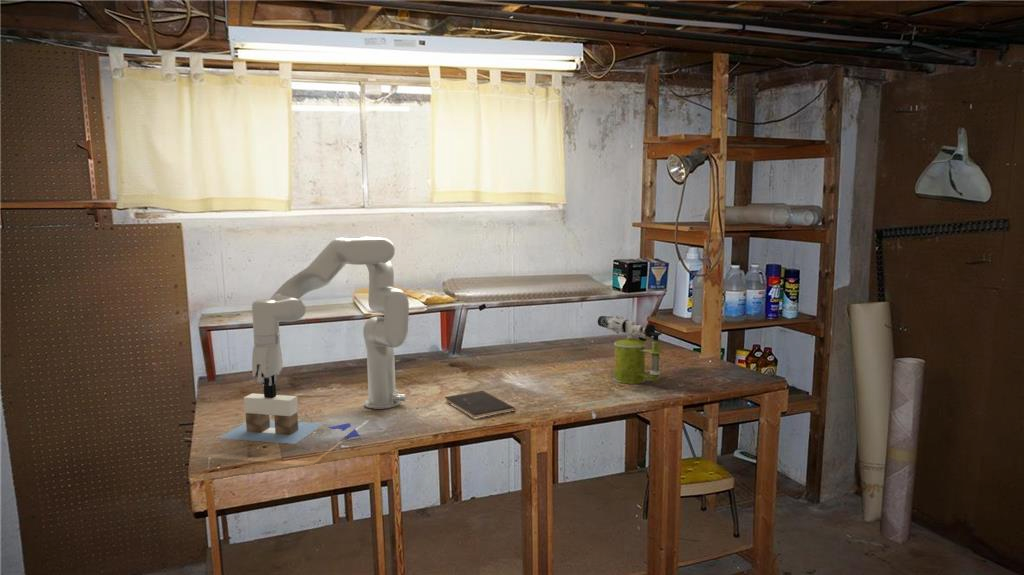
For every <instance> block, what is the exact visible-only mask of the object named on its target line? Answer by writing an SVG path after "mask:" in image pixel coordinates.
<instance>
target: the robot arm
mask: <svg viewBox="0 0 1024 575" xmlns="http://www.w3.org/2000/svg"><path fill="white" fill-rule="evenodd" d="M395 250H396V249H395V245H394V243H393V242H392V241H391V240H389V239H388V238H384V237H375V236H362V237H359V238H352V237H351V238H349V237H336V238H334V239H332V240H331V241H330V242H329V243H328V244H327V246H325V248H324V249H322V251H321V252H320V253H319V254H318V255H317V256H316V257H315V259H313V261H312V262H311V263H309V265H308V266H307V267H306V268H304V269H302V270H300V271H299V272H298V273H296V274H295V275H293V276H291V277H290V278H289V279H288V280H286V281H285V282H284V283H283V284H281V286H279V288H278V289H277V290H276V291H275V292H274V293H273V294H272V296H271V297H270V299H267V298H266V299H265V298H264V299H258V300H255V301H253V303H252V304H251V313H252V329H253V347H252V355H251V358H252V359H251V370H252V371H251V372H252V377H253V378H257V379H256V380H257V383H259V384H260V383H261V384H262V386H263V394H264V397H265V398H274V397H275V396H276V395H277V388H276V386H277V385H276V384H277V377H279V375H280V374H281V371H282V370H283V354H282V348H281V338H280V322H296V321H299V320H301V319H302V318H303V317H304V316H305V315H306V311H307V310H306V309H307V308H306V305H305V302H303V301H302V300H301V298H302V297H303V296H304V295H306V294H308V293H310V292H312V291H315V290H319V289H321V288H324V287H326V286H327V285H329V284H330V282H332V281H333V279H334V278H335V277H336V276H337V275H338V273H339V272H340V271H341V270H342V269H343V268H344V267H345V266H346V265H359V266H361V265H362V266H363V265H365V266H366V267H367V268H366V269H367V271H368V307H369V309H370V310H371V311H373V312H375V313H377V314H381V315H382V314H383V316H372V317H370V318H368V320H366V322H365V323H364V326H363V333H362V334H363V339H364V343H365V348H366V366H367V385H368V386H367V388H368V389H367V390H368V398H367V399H366V400H364V406H365V407H366V408H368V409H372V408H373V410H374V409H375V410H383V409H385V410H386V409H390V408H395V407H397V406H399V405H400V404H401V402H406V401H407V395H406V394H400V393H399V390H398V389H396V371H395V369H396V367H395V361H396V360H395V353H394V348H398V347H401V346H402V345H403V344H404V343H406V342H405V341H406V340H407V336H408V331H409V312H410V310H409V309H410V303H409V299H408V296H407V294H406V293H405V292H404V291H403V290H402V289H399V288H395V287H394V286H395V285H394V284H395V282H394V281H395V278H394V277H395V276H394V274H395V273H394V268H393V264H392V262H391V260H392V259H393V258H394V256H395Z"/></svg>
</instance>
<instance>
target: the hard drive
mask: <svg viewBox="0 0 1024 575" xmlns="http://www.w3.org/2000/svg"><path fill="white" fill-rule="evenodd" d="M351 427H352V425H351V423H344V424H343V423H342V424H337V425H331V426H328V429H330V430H337V429H338V430H340V431H342V432H343V431H346V430H347V429H349V428H351ZM350 439H351V440H356V439H361V435H360V434H359V432H358V431H357V429H356V428H354V429H353V430H352V431H351V432H350V433H348V434H346V435H345V436H344V437H342V438H341V439H340V440H339V442H344V440H345V441H350Z"/></svg>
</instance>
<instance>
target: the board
mask: <svg viewBox="0 0 1024 575" xmlns="http://www.w3.org/2000/svg"><path fill="white" fill-rule="evenodd" d="M323 425H325V423H318V422H317V423H316V422H303V421H301V422H300V421H298V430H297V431H295V432H294V433H292V434H291V435H282V434H275V419H274V420H272V419H270V428H268V429H267V430H265V431H263V432H262V433H255V432H247V427H246V422H244V423H242V424H241V425H240V426H237V427H235V428H233V429H231V430H230V431H228V432H227V433H225V434H223V435H221V436H219V437H218V439H224V440H236V441H237V440H239V441H251V442H264V443H276V444H277V443H278V444H289V445H295V444H297V443H298V442H301V440H303V439H304V438H306V437H307V436H309V435H310V434H312V433H313V432H315V431H316V430H317V429H319V428H321V427H322V426H323Z"/></svg>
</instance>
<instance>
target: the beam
mask: <svg viewBox="0 0 1024 575" xmlns="http://www.w3.org/2000/svg"><path fill="white" fill-rule="evenodd" d="M298 403H299V402H298V396H297V395H283V394H281V395H280V394H276V396H275V397H274V398H265V397H264V393H253V392H252V393H250V394H248V395H246V396H244V397H243V407H244V414H246V413H253V414H266V415H269V416H274V415H280V416H292V415H293V414H295V413H297V414H298V412H299V405H298Z"/></svg>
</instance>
